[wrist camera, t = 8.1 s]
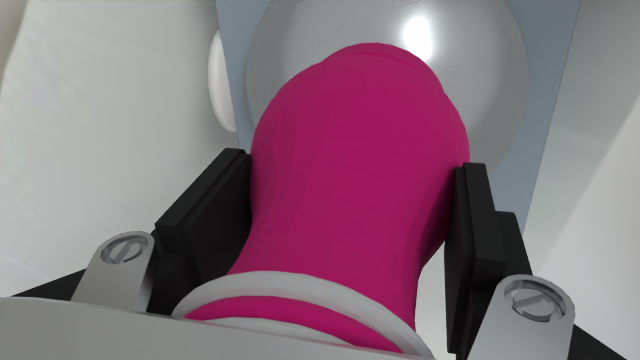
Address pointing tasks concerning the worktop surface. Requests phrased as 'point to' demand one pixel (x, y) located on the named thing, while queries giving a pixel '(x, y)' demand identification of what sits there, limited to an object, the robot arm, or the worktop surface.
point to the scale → (527, 148)
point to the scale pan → (416, 37)
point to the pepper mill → (344, 203)
